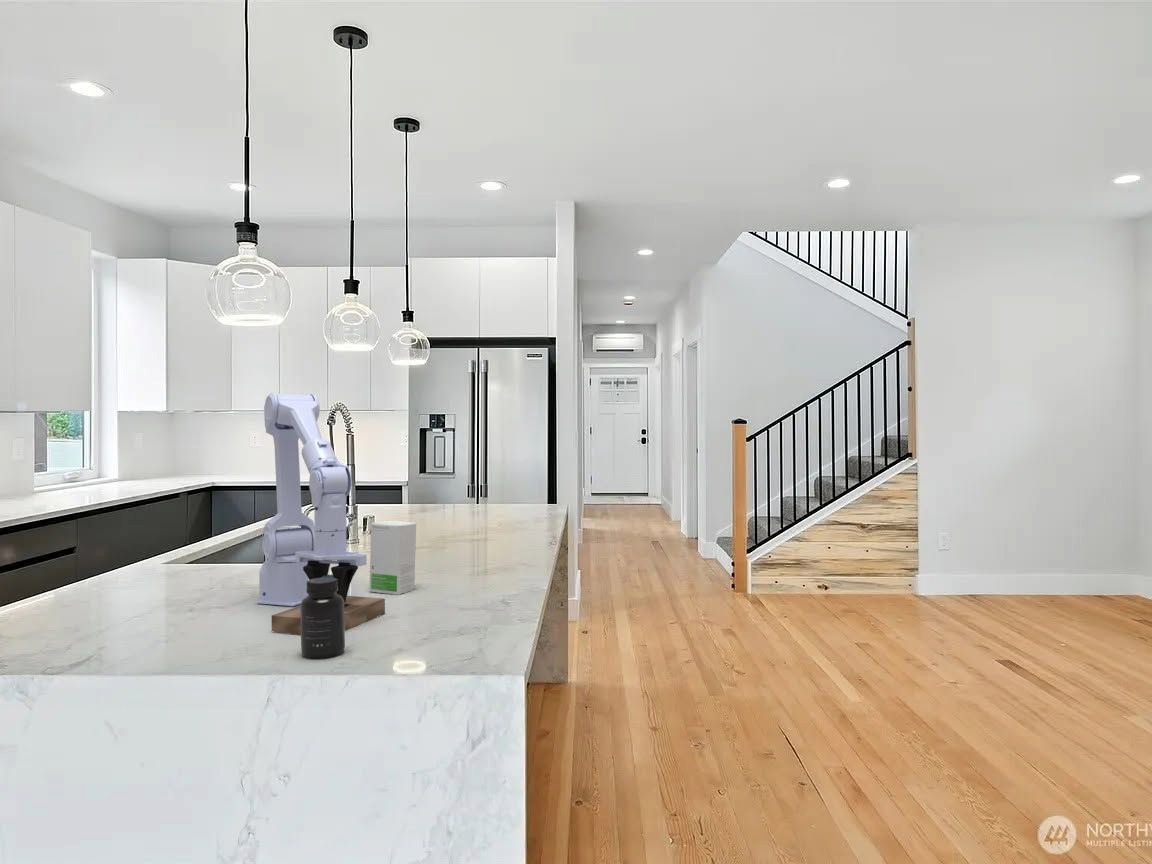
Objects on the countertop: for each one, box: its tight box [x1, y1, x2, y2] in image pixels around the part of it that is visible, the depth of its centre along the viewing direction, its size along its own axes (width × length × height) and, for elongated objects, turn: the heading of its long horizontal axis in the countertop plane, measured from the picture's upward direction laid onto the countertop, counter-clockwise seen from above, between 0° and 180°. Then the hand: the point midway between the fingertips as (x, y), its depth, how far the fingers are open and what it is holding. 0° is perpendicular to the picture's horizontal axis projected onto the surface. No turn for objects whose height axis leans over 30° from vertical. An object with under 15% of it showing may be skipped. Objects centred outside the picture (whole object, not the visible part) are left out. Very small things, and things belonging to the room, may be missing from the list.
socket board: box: [271, 595, 386, 636], centre depth 143 cm, size 12×18×3 cm, turn 162°
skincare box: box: [369, 519, 417, 596], centre depth 171 cm, size 8×7×16 cm
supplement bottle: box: [299, 577, 346, 660], centre depth 123 cm, size 7×7×12 cm
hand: (330, 601), depth 143 cm, fingers closed on peg, 4 cm apart
